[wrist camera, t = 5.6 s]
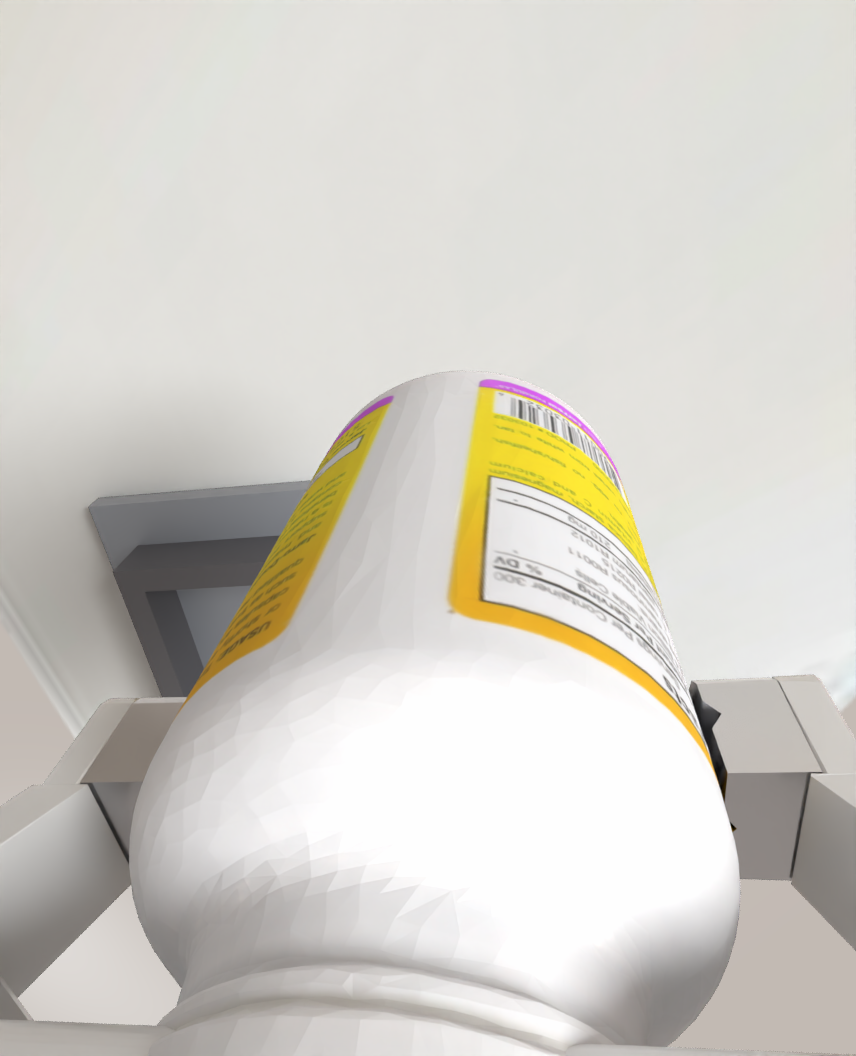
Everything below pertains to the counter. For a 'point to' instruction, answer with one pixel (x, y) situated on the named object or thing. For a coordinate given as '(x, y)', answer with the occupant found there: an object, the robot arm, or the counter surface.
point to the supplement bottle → (441, 762)
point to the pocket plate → (190, 566)
